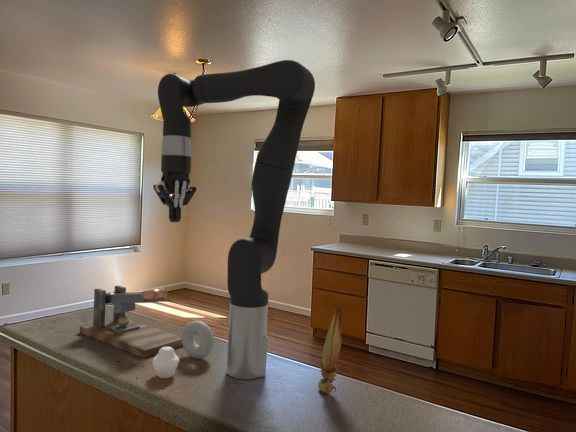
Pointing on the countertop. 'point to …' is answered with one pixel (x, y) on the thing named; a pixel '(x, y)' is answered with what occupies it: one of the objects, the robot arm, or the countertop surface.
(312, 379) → the countertop surface
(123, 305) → the lever
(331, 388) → the tan tall pointed piece
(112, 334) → the cracker base
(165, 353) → the white rounded bulbous piece
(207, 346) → the donut
